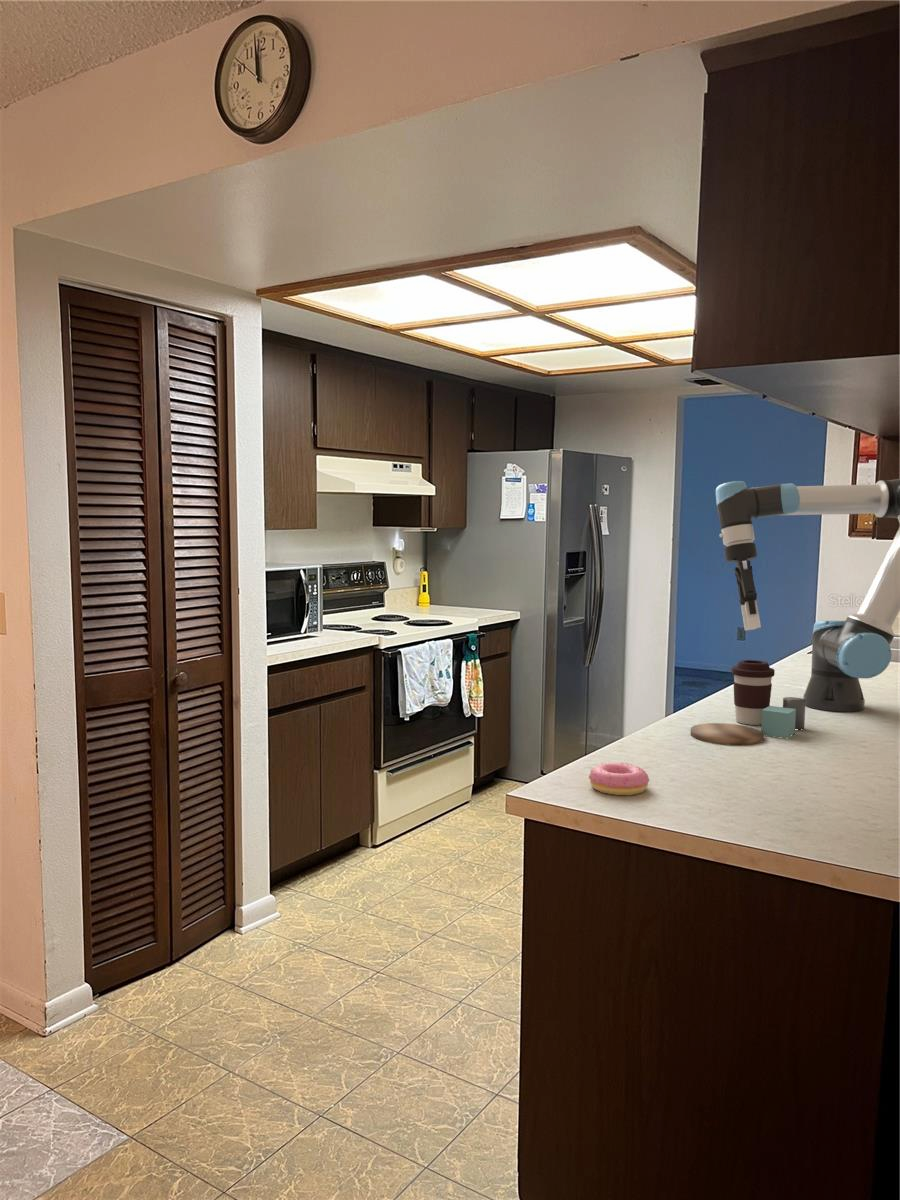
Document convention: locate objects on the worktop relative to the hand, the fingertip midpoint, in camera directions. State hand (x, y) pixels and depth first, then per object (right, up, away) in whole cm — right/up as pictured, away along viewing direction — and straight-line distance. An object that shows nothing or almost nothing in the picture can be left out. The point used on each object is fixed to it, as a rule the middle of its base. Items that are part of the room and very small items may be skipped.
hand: (752, 629), depth 222 cm
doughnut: (-43, -28, -55) cm, 75 cm away
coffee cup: (0, -23, 0) cm, 23 cm away
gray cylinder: (+8, -23, -6) cm, 25 cm away
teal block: (+2, -24, -12) cm, 27 cm away
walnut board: (-11, -24, -15) cm, 30 cm away
